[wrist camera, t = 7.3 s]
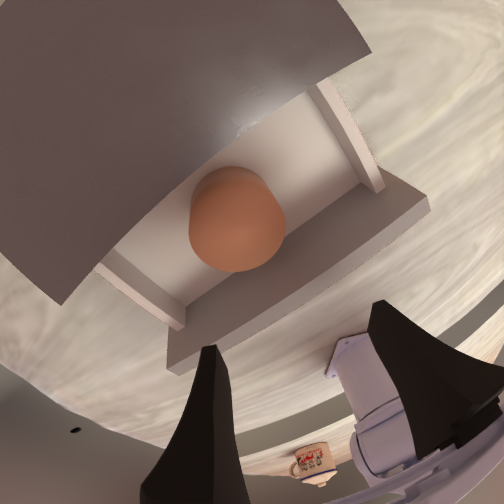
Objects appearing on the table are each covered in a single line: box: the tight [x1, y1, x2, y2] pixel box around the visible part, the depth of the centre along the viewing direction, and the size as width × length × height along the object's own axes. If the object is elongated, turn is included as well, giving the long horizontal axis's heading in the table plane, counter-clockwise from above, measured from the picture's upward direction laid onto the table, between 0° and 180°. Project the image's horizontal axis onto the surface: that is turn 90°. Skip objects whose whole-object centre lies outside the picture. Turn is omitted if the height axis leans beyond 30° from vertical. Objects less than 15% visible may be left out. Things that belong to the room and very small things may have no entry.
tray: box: [93, 77, 431, 376], centre depth 15 cm, size 12×20×6 cm, turn 127°
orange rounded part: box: [188, 166, 286, 272], centre depth 15 cm, size 5×5×4 cm
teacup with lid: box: [289, 442, 337, 487], centre depth 50 cm, size 12×9×12 cm
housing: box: [0, 0, 372, 306], centre depth 9 cm, size 14×20×6 cm
